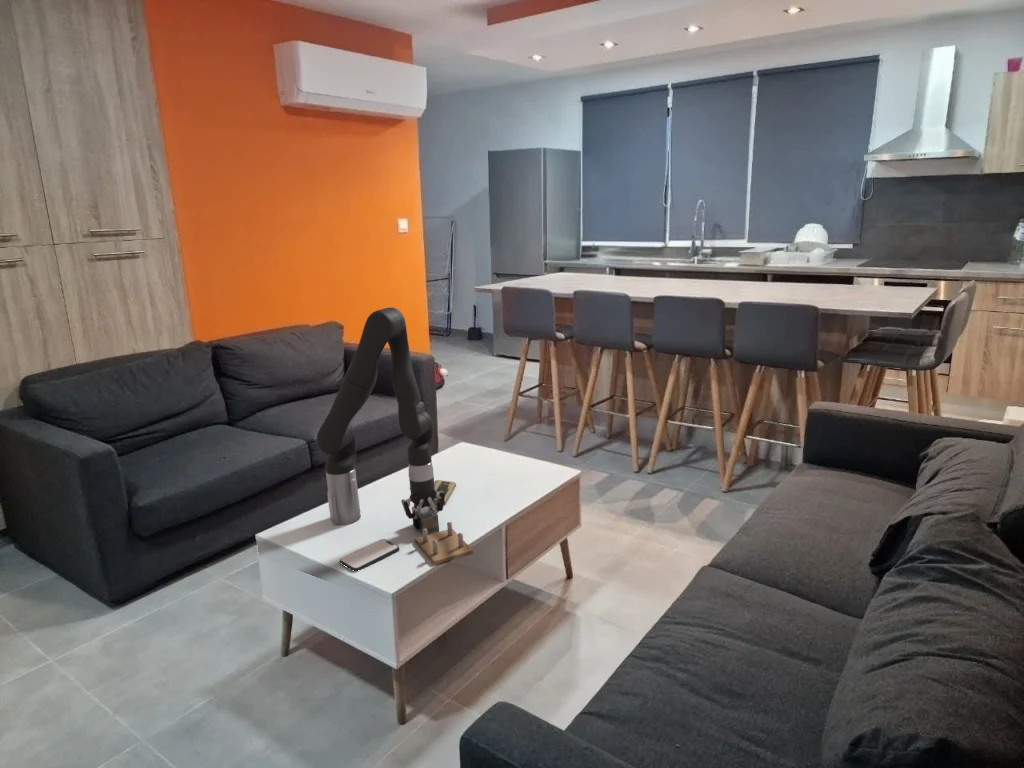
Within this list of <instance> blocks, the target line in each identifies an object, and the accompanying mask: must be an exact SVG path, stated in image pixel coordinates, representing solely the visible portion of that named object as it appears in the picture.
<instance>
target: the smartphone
mask: <svg viewBox="0 0 1024 768" xmlns="http://www.w3.org/2000/svg"><path fill="white" fill-rule="evenodd" d="M398 552H400V546H399V545H398V544H396V543H393V542H391V541H389V540H388V539H385V538H381V539H379V540H377V541H375V542H373V543H371V544H369V545H367V546H365V547H363V548H361V549H359V550H356V551H355V552H353V553H351V554H348V555H346V556H344V557H342V558H341V559H340V560H339V564H340V563H342V564H343V565H345V566H347V567H348V568H350V569H351V570H350V569H349V570H350V571H352V570H354V571H357V572H359V571H358V570H360V571H361V569H362V570H363V569H366V568H368V567H371V566H372V565H374V564H376V563H379V562H380V561H382V560H384V559H386V558H388V557H390V556H392V555H394V554H396V553H398ZM343 565H342V566H343ZM345 566H344V567H345ZM348 568H347V569H348ZM354 571H353V572H354Z"/></svg>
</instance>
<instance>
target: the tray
mask: <svg viewBox="0 0 1024 768" xmlns="http://www.w3.org/2000/svg"><path fill="white" fill-rule="evenodd" d="M446 526H447V528H446V529H445V530H442V531H439V532H437V533H433V534H430V535H427V529H422V533H423V535H422V536H419V537H416V538H414V542H415V544H416V545H417V546H418V548H419V549H420V550H421V551H422V552H423V553H424V555H425V556H426V557H427V559H429V561H430V562H431V564H432V565H433V566H437V565H439V564H444V563H446V562H450V561H453V560H457V559H460V558H464V557H467V556H471V555H474V549H473V548H472V547H470V546H469V544H468V543H467V542H465V540H464V533H463V532H458V533H457V532H456V531H455V530H454V529H453V522H452V521H448V522H447V523H446Z"/></svg>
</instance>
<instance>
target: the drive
mask: <svg viewBox="0 0 1024 768" xmlns="http://www.w3.org/2000/svg"><path fill="white" fill-rule="evenodd" d="M412 512H413V506H411V513H412ZM418 519H419V530H418V531H419V533H420V534H421V535H422V536H423V533H422V529H427V535H430V534H433V533H437V532H440V526H439V525H440V524H439V513H436V512H435V511H434V510H432V509H431V508H430V507H424V508H421V511H420V513H419V514H418Z"/></svg>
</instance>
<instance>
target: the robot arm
mask: <svg viewBox="0 0 1024 768" xmlns="http://www.w3.org/2000/svg"><path fill="white" fill-rule="evenodd" d="M408 339H409V338H408V331H407V324H406V320H405V316H404V314H403V313H402V312H401V311H400V310H399V309H397V308H395V307H392V306H391V307H385V308H382V309H378V310H375V311H373V312H371V313H370V314H369V315H368V317H367V318H366V320H365V323H364V326H363V330H362V333H361V337H360V339H359V343H358V346H357V348H356V351H355V353H354V355H353V356H352V359H351V361H350V364H349V366H348V368H347V370H346V372H345V375H344V377H343V379H342V382H341V383H340V387H339V389H338V391H337V393H336V396H335V397H334V398H335V399H334V401H333V403H332V405H331V408H330V410H329V412H328V414H327V415H326V418H325V419H324V420H323V423H322V424H321V426H320V428H319V429H318V432H317V434H316V444H317V447H318V449H319V451H321V452H322V453H323V454H326V455H329V456H328V459H327V460H326V461H325V465H324V466H325V467H324V468H325V477H326V483H327V484H326V485H327V491H326V493H327V501H328V509H329V517H330V520H331V522H332V523H333V525H334V526H337V525H349V524H353V523H356V522H357V521H359V520H360V519H361V515H362V514H361V506H360V498H359V490H358V482H357V481H358V480H357V473H356V459H357V448H356V447H357V446H356V445H357V444H356V434H355V430H354V428H353V425H352V424H351V422H352V421H353V418H355V416H356V415H357V414H358V412H359V411H360V410H361V409H362V408H363V406H365V404H366V402H367V401H368V399H369V398H370V395H371V394H372V391H373V389H374V387H375V386H376V382H377V380H378V364H379V358H380V356H381V354H382V352H383V350H384V348H385V346H386V345H387V344H388V347H389V351H390V356H391V384H392V388H393V393H394V395H395V398H396V402H397V404H398V405H397V406H398V407H397V410H398V411H397V412H398V424H399V428H400V429H399V430H400V431H401V433H402V435H403V436H404V437H405V439H408V440H411V441H410V442H411V443H410V444H409V445H408V447H407V459H408V461H407V462H408V479H409V491H410V496H409V498H406V499H401V501H400V502H401V505H402V507H403V511H404V513H405V515H406V517H407V518H408V519H410V520H411V519H412V525H413V527H414V529H416V530H417V531H419V519H418V514H419V513H420V511H421V508H424V507H430V508H431V509H432V510H434V511H435V512H436V513H437V514H439V513H440V512H442V511H443V510H444V506H445V505H444V499H445V493H444V492H443V491H441V490H440V491H439V492H436V491H435V485H434V482H435V473H434V467H433V466H434V465H433V463H432V462H433V461H432V450H431V447H432V440H433V439H432V438H433V431H434V424H433V422H434V421H433V420H432V417H431V415H430V414H429V413H428V412H427V411H424V410H419V411H418V406H419V405H420V403H421V400H422V397H421V394H420V391H419V387H418V386H419V385H418V383H417V380H416V377H415V373H414V370H413V363H412V359H411V353H410V352H411V351H410V345H409V340H408ZM436 495H437V498H438V501H437V505H434V503H433V501H434V499H435V497H436ZM411 503H413V506H412V507H413V512H412V510H411V509H410V506H411Z"/></svg>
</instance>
